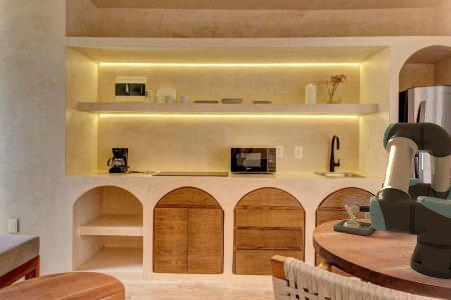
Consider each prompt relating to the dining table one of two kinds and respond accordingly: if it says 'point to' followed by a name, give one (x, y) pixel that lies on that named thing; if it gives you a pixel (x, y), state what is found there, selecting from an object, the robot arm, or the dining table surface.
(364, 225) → the tray
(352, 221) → the white vr controller
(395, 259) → the dining table surface
